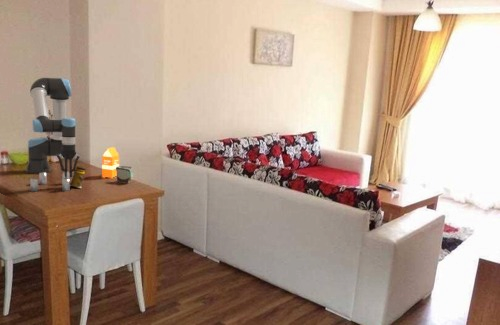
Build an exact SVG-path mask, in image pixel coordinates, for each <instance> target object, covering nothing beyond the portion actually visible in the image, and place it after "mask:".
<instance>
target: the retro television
mask: <svg viewBox="0 0 500 325" xmlns="http://www.w3.org/2000/svg"><path fill="white" fill-rule="evenodd" d="M115 170H116V174H117V177H116V182H118V183H122V184H126V183H127V185H129V183H131V179H132V172H133V168H132V167H131V166H127V165H122V166H121V165H119V166H117V167H116V169H115Z"/></svg>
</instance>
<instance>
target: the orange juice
mask: <svg viewBox="0 0 500 325" xmlns="http://www.w3.org/2000/svg"><path fill="white" fill-rule="evenodd" d="M101 158H102V159H101V169H102V170H101V171H102V172H101V174H102V176H101V177H102V178H105V177H110V178H109V179H114V178H113V177H115V176H117V174H116V170H115V169H116V167H117V166H120V155H119V153H118V151H117V150H116V147H114V146H113V147H109V148H107V149H106V150H105V152H104V153H103V154H102V156H101ZM115 178H116V177H115Z"/></svg>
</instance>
